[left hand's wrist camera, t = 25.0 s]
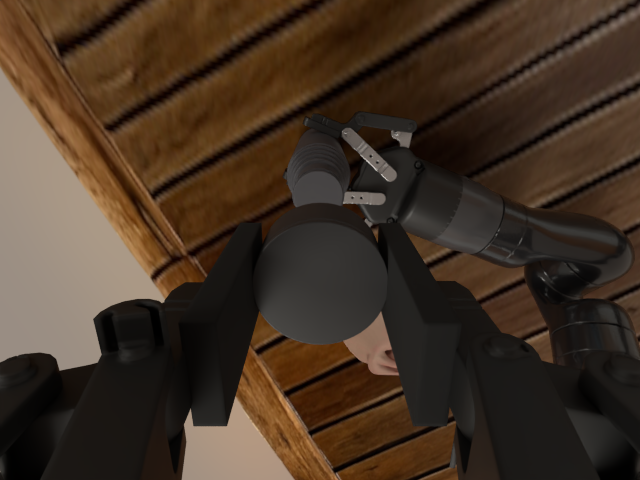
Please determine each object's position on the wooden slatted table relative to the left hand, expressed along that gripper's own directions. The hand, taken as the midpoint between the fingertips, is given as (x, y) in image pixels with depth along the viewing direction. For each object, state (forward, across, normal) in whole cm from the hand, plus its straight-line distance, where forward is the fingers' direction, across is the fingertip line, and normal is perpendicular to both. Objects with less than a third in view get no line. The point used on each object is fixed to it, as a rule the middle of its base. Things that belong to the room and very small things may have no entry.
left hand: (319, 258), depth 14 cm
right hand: (+26, -2, +1) cm, 26 cm away
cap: (-2, 0, 0) cm, 2 cm away
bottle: (+33, 0, 0) cm, 33 cm away
